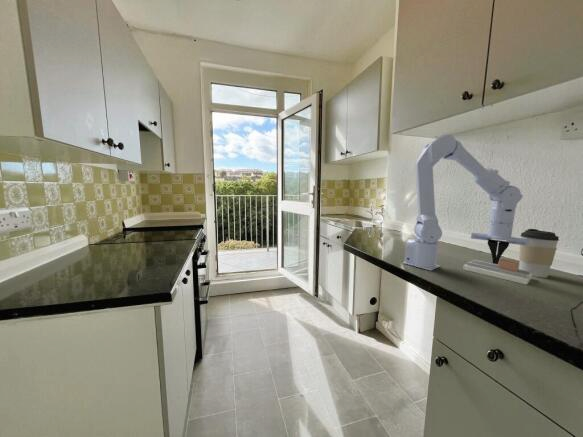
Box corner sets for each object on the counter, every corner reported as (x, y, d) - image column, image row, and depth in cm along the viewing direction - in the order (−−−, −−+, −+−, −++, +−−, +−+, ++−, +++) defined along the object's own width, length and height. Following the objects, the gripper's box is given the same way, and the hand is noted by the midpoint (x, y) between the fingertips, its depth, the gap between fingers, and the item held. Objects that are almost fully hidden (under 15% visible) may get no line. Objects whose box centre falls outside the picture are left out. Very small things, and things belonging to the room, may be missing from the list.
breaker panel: (462, 269, 83) (463, 262, 82) (471, 265, 88) (471, 258, 88) (527, 284, 70) (528, 276, 70) (531, 278, 76) (532, 271, 76)
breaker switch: (498, 270, 77) (499, 260, 77) (500, 268, 80) (502, 258, 79) (514, 274, 74) (516, 263, 74) (516, 272, 77) (518, 261, 76)
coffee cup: (560, 280, 76) (569, 233, 74) (527, 277, 78) (534, 231, 76) (537, 271, 85) (544, 229, 83) (508, 268, 86) (514, 227, 85)
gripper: (471, 221, 80) (466, 260, 81) (533, 226, 70) (525, 271, 72) (474, 219, 85) (469, 256, 87) (532, 225, 75) (525, 266, 77)
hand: (495, 263), depth 79 cm, fingers closed
